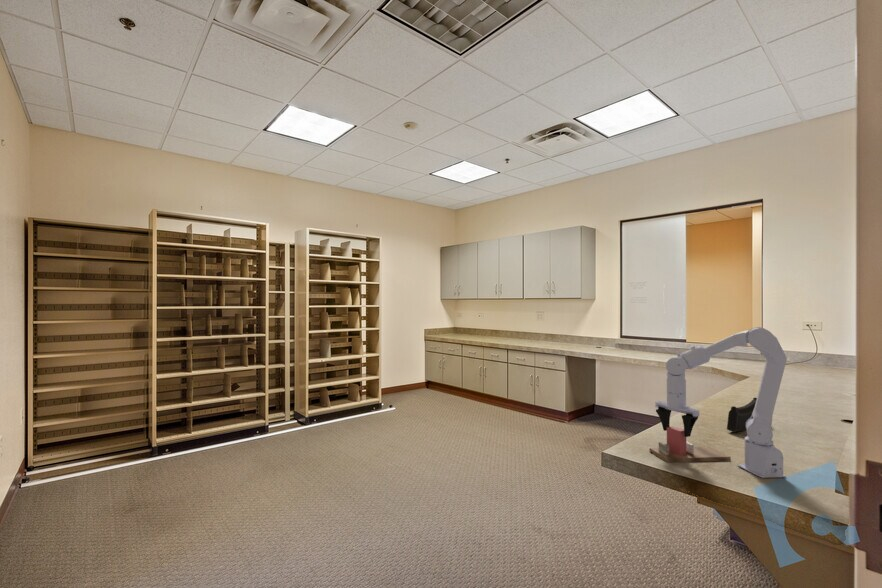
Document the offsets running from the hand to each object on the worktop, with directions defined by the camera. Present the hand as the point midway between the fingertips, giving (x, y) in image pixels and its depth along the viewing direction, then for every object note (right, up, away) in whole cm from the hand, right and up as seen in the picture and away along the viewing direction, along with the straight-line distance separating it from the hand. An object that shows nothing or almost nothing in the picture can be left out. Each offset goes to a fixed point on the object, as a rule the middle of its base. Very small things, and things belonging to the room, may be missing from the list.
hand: (676, 433), depth 145 cm
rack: (+4, -8, 0) cm, 9 cm away
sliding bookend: (+4, -6, 0) cm, 7 cm away
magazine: (+49, -9, +35) cm, 61 cm away
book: (0, -7, 0) cm, 7 cm away
